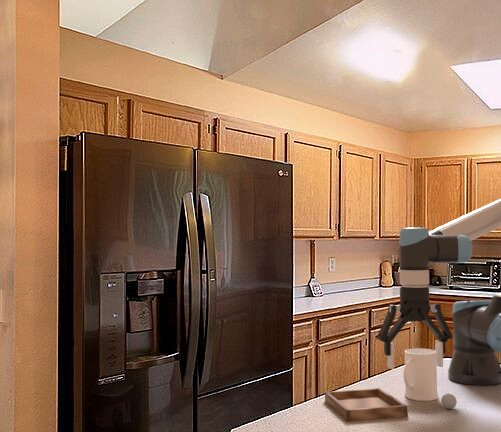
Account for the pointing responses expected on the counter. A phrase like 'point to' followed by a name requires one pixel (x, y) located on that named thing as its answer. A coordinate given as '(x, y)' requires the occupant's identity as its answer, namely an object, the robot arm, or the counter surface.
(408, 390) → the mug
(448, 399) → the ball
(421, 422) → the counter surface
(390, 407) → the tray
